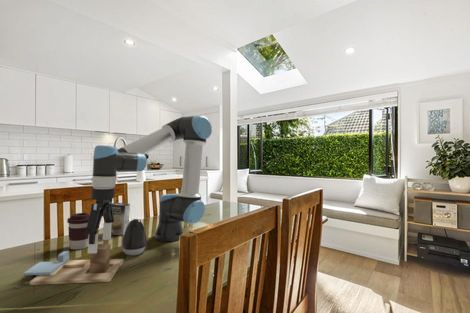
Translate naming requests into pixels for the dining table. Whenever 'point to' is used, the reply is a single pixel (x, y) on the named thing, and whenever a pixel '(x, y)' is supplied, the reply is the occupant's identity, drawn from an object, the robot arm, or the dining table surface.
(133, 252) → the dark grey rounded dome
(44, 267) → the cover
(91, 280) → the board
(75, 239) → the coffee cup
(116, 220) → the coffee box
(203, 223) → the dining table surface
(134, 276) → the dining table surface
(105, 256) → the block
